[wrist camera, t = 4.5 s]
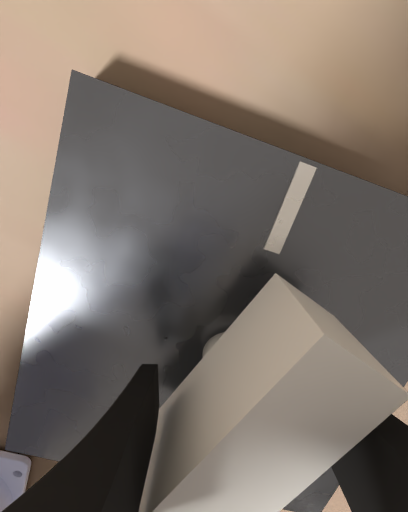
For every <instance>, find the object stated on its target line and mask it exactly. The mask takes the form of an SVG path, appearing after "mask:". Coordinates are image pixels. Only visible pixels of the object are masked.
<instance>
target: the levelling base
mask: <svg viewBox="0 0 408 512" xmlns="http://www.w3.org/2000/svg"><path fill="white" fill-rule="evenodd" d="M275 273H276V274H278V275H279V276H280V277H282V278H283V279H284V280H286V281H287V282H289V283H290V284H291V285H293V286H294V287H295V288H297V289H298V290H299V291H301V292H302V293H304V294H305V295H306V296H308V297H309V298H310V299H312V300H313V301H314V302H316V303H317V304H319V305H320V306H321V307H323V308H324V309H325V310H327V311H328V312H329V313H331V314H332V315H334V316H335V317H336V318H337V319H338V321H339V322H340V323H341V324H342V325H343V326H344V327H345V328H346V329H347V330H348V331H349V332H350V333H351V334H352V335H353V336H354V337H355V338H356V339H357V340H358V341H359V342H360V343H361V344H362V345H363V346H364V347H365V348H366V349H367V350H368V351H369V352H370V354H371V355H372V356H373V357H374V358H375V359H376V360H377V361H378V362H379V363H380V364H381V365H382V366H383V367H384V368H385V369H386V370H387V371H388V372H389V373H390V374H391V375H392V376H393V377H394V378H395V379H396V380H397V381H398V382H399V383H400V384H401V385H402V387H404V386H405V384H406V383H407V381H408V196H405V195H403V194H400V193H397V192H395V191H392V190H389V189H387V188H384V187H381V186H379V185H376V184H373V183H371V182H368V181H366V180H363V179H360V178H358V177H355V176H352V175H350V174H347V173H344V172H342V171H339V170H336V169H334V168H331V167H328V166H326V165H323V164H321V163H318V162H315V161H313V160H310V159H307V158H305V157H302V156H299V155H297V154H294V153H291V152H289V151H286V150H284V149H281V148H278V147H276V146H273V145H270V144H268V143H265V142H262V141H260V140H257V139H254V138H252V137H249V136H246V135H244V134H241V133H239V132H236V131H233V130H231V129H228V128H225V127H223V126H220V125H217V124H215V123H212V122H209V121H207V120H204V119H202V118H199V117H196V116H194V115H191V114H188V113H186V112H183V111H180V110H178V109H175V108H172V107H170V106H167V105H164V104H162V103H159V102H157V101H154V100H151V99H149V98H146V97H143V96H141V95H138V94H135V93H133V92H130V91H127V90H125V89H122V88H120V87H117V86H114V85H112V84H109V83H106V82H104V81H101V80H98V79H96V78H93V77H90V76H88V75H85V74H82V73H80V72H77V71H75V70H72V72H71V77H70V83H69V89H68V94H67V100H66V106H65V111H64V117H63V123H62V128H61V134H60V140H59V145H58V151H57V157H56V162H55V168H54V174H53V179H52V185H51V191H50V196H49V202H48V208H47V213H46V219H45V225H44V230H43V236H42V242H41V247H40V253H39V259H38V264H37V270H36V276H35V281H34V287H33V293H32V298H31V304H30V310H29V315H28V321H27V327H26V332H25V338H24V344H23V349H22V355H21V361H20V366H19V372H18V378H17V383H16V389H15V395H14V400H13V406H12V412H11V417H10V423H9V429H8V434H7V440H6V446H5V450H8V451H13V452H17V453H22V454H27V455H31V456H36V457H41V458H45V459H50V460H55V461H61V460H62V459H63V458H64V457H65V456H66V455H67V454H68V453H69V452H70V451H71V450H72V449H73V448H74V447H75V446H76V445H77V444H78V443H79V442H80V441H81V440H82V439H83V438H84V437H85V435H86V434H87V433H88V432H89V431H90V430H91V429H92V428H93V427H94V426H95V424H96V423H97V422H98V421H99V420H100V419H101V417H102V416H103V415H104V414H105V413H106V412H107V410H108V409H109V408H110V407H111V405H112V404H113V403H114V402H115V400H116V399H117V398H118V396H119V395H120V394H121V392H122V391H123V390H124V388H125V387H126V386H127V384H128V383H129V382H130V380H131V379H132V377H133V376H134V374H135V373H136V371H137V370H138V368H139V367H140V366H141V365H142V364H158V380H159V408H160V407H161V406H162V405H163V404H164V403H165V401H166V400H167V399H168V398H169V397H170V396H171V394H172V393H173V392H174V391H175V390H176V389H177V387H178V386H179V385H180V384H181V383H182V382H183V380H184V379H185V378H186V377H187V376H188V375H189V373H190V372H191V371H192V370H193V369H194V368H195V366H196V365H197V364H198V363H199V362H200V361H201V359H202V353H203V348H204V346H205V344H206V343H207V341H208V340H209V339H210V338H212V337H213V336H215V335H217V334H219V333H222V332H225V331H226V330H227V329H228V328H229V327H230V326H231V324H232V323H233V322H234V321H235V320H236V319H237V317H238V316H239V315H240V314H241V313H242V312H243V310H244V309H245V308H246V307H247V306H248V305H249V303H250V302H251V301H252V300H253V299H254V298H255V296H256V295H257V294H258V293H259V292H260V291H261V289H262V288H263V287H264V286H265V285H266V284H267V282H268V281H269V280H270V279H271V278H272V277H273V275H274V274H275ZM338 486H339V483H338V481H337V479H336V476H335V474H334V472H333V470H332V468H331V467H330V468H329V469H328V470H327V471H325V472H324V473H323V474H322V475H321V476H320V477H318V478H317V479H316V480H315V481H314V482H313V483H312V484H310V485H309V486H308V487H307V488H306V489H305V490H304V491H302V492H301V493H300V494H299V495H298V496H297V497H296V498H294V499H293V500H292V501H291V502H290V503H289V504H287V505H286V506H285V507H284V508H283V509H284V510H289V511H293V512H322V510H323V509H324V507H325V506H326V504H327V503H328V501H329V500H330V498H331V497H332V495H333V494H334V492H335V491H336V489H337V488H338Z"/></svg>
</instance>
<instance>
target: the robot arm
mask: <svg viewBox="0 0 408 512" xmlns="http://www.w3.org/2000/svg"><path fill="white" fill-rule="evenodd" d="M158 414H159V380H158V364H142V365H141V366H140V367H139V368H138V370H137V371H136V373H135V374H134V376H133V377H132V379H131V380H130V382H129V383H128V384H127V386H126V387H125V388H124V390H123V391H122V392H121V394H120V395H119V396H118V398H117V399H116V400H115V402H114V403H113V404H112V405H111V407H110V408H109V409H108V410H107V412H106V413H105V414H104V415H103V416H102V417H101V419H100V420H99V421H98V422H97V423H96V424H95V426H94V427H93V428H92V429H91V430H90V431H89V432H88V433H87V434H86V435H85V437H84V438H83V439H82V440H81V441H80V442H79V443H78V444H77V445H76V446H75V447H74V448H73V449H72V450H71V451H70V452H69V453H68V454H67V455H66V456H65V457H64V458H63V459H62V460H61V461H60V462H58V463H57V464H56V465H55V466H54V467H53V468H52V469H51V470H50V471H49V472H48V473H47V474H46V475H44V476H43V477H42V478H41V479H40V480H39V481H38V482H37V483H35V484H34V485H33V486H32V487H31V488H30V489H28V490H27V491H26V492H25V490H26V486H27V481H28V476H29V472H30V467H31V460H30V458H28V457H27V456H24V455H20V454H15V453H10V452H6V451H1V450H0V512H139V507H140V502H141V498H142V493H143V489H144V485H145V480H146V476H147V471H148V467H149V463H150V458H151V454H152V449H153V445H154V440H155V436H156V429H157V422H158ZM331 468H332V470H333V472H334V474H335V476H336V479H337V481H338V483H339V485H340V487H341V489H342V491H343V494H344V496H345V498H346V500H347V502H348V504H349V507H350V509H351V511H352V512H408V425H406V424H405V423H403V422H402V421H401V420H399V419H398V418H396V417H395V416H394V415H392V414H391V415H390V416H388V417H387V418H386V419H385V420H384V421H383V422H382V423H380V424H379V425H378V426H377V427H376V428H375V429H374V430H372V431H371V432H370V433H369V434H368V435H367V436H366V437H364V438H363V439H362V440H361V441H360V442H359V443H357V444H356V445H355V446H354V447H353V448H352V449H351V450H349V451H348V452H347V453H346V454H345V455H344V456H343V457H341V458H340V459H339V460H338V461H337V462H336V463H335V464H333V465H332V466H331Z"/></svg>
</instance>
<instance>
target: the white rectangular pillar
mask: <svg viewBox="0 0 408 512" xmlns="http://www.w3.org/2000/svg"><path fill="white" fill-rule="evenodd" d="M407 400H408V392H407V391H406V390H405V389H404V388H403V387H402V385H401V384H400V383H399V382H398V381H397V380H396V379H395V378H394V377H393V376H392V375H391V374H390V373H389V372H388V371H387V370H386V369H385V368H384V367H383V366H382V365H381V364H380V363H379V362H378V361H377V360H376V359H375V358H374V357H373V356H372V355H371V354H370V352H369V351H368V350H367V349H366V348H365V347H364V346H363V345H362V344H361V343H360V342H359V341H358V340H357V339H356V338H355V337H354V336H353V335H352V334H351V333H350V332H349V331H348V330H347V329H346V328H345V327H344V326H343V325H342V324H341V323H340V322H339V321H338V319H337V318H336V317H335V316H334V315H332V314H331V313H329V312H328V311H327V310H325V309H324V308H323V307H321V306H320V305H319V304H317V303H316V302H314V301H313V300H312V299H310V298H309V297H308V296H306V295H305V294H304V293H302V292H301V291H299V290H298V289H297V288H295V287H294V286H293V285H291V284H290V283H289V282H287V281H286V280H284V279H283V278H282V277H280V276H279V275H278V274H276V273H275V274H274V275H273V277H272V278H271V279H270V280H269V281H268V282H267V284H266V285H265V286H264V287H263V288H262V289H261V291H260V292H259V293H258V294H257V295H256V296H255V298H254V299H253V300H252V301H251V302H250V303H249V305H248V306H247V307H246V308H245V309H244V310H243V312H242V313H241V314H240V315H239V316H238V317H237V319H236V320H235V321H234V322H233V323H232V324H231V326H230V327H229V328H228V329H227V330H226V331H225V332H222V333H219V334H217V335H215V336H213V337H212V338H210V339H209V340H208V341H207V343H206V344H205V346H204V348H203V353H202V359H201V361H200V362H199V363H198V364H197V365H196V366H195V368H194V369H193V370H192V371H191V372H190V373H189V375H188V376H187V377H186V378H185V379H184V380H183V382H182V383H181V384H180V385H179V386H178V387H177V389H176V390H175V391H174V392H173V393H172V394H171V396H170V397H169V398H168V399H167V400H166V401H165V403H164V404H163V405H162V406H161V407H160V408H159V414H158V422H157V429H156V436H155V440H154V445H153V449H152V454H151V458H150V463H149V467H148V471H147V476H146V480H145V485H144V489H143V493H142V498H141V502H140V507H139V512H279V511H281V510H282V509H283V508H284V507H285V506H286V505H287V504H289V503H290V502H291V501H292V500H293V499H294V498H296V497H297V496H298V495H299V494H300V493H301V492H302V491H304V490H305V489H306V488H307V487H308V486H309V485H310V484H312V483H313V482H314V481H315V480H316V479H317V478H318V477H320V476H321V475H322V474H323V473H324V472H325V471H327V470H328V469H329V468H330V467H331V466H332V465H333V464H335V463H336V462H337V461H338V460H339V459H340V458H341V457H343V456H344V455H345V454H346V453H347V452H348V451H349V450H351V449H352V448H353V447H354V446H355V445H356V444H357V443H359V442H360V441H361V440H362V439H363V438H364V437H366V436H367V435H368V434H369V433H370V432H371V431H372V430H374V429H375V428H376V427H377V426H378V425H379V424H380V423H382V422H383V421H384V420H385V419H386V418H387V417H388V416H390V415H391V414H392V413H393V412H394V411H395V410H396V409H398V408H399V407H400V406H401V405H402V404H403V403H405V402H406V401H407Z"/></svg>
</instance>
